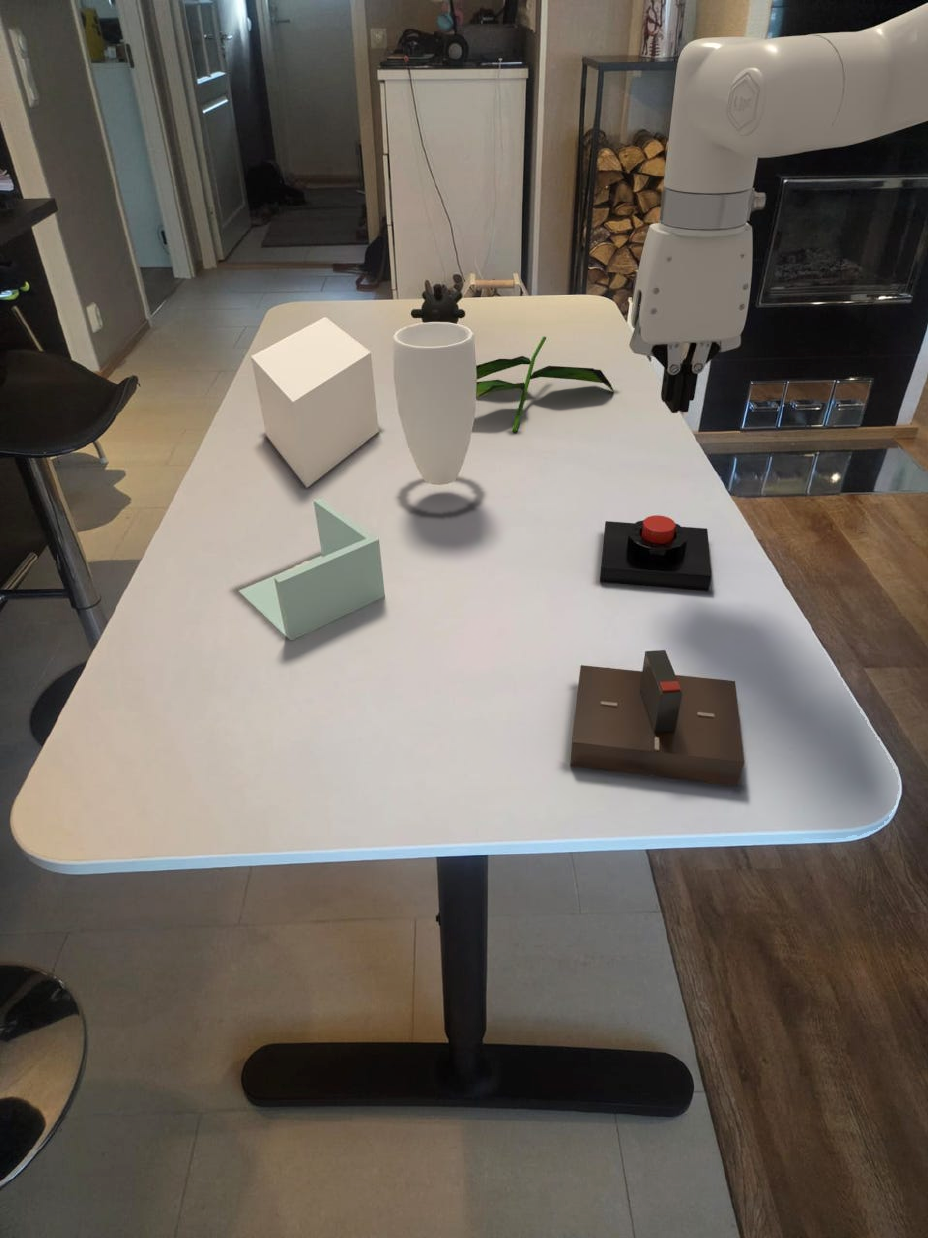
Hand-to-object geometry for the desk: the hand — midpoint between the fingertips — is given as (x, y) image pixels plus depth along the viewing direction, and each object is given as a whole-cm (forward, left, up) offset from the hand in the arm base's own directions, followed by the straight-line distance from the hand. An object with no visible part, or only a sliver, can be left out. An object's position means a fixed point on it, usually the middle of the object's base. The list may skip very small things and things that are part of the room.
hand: (675, 407), depth 82 cm
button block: (0, 0, -19) cm, 19 cm away
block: (+50, -29, -19) cm, 61 cm away
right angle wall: (+38, +12, -19) cm, 44 cm away
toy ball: (+42, -75, -19) cm, 88 cm away
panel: (0, +28, -19) cm, 34 cm away
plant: (+19, -44, -19) cm, 52 cm away
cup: (+28, -12, -19) cm, 36 cm away
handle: (0, +28, -16) cm, 32 cm away
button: (0, 0, -16) cm, 16 cm away
